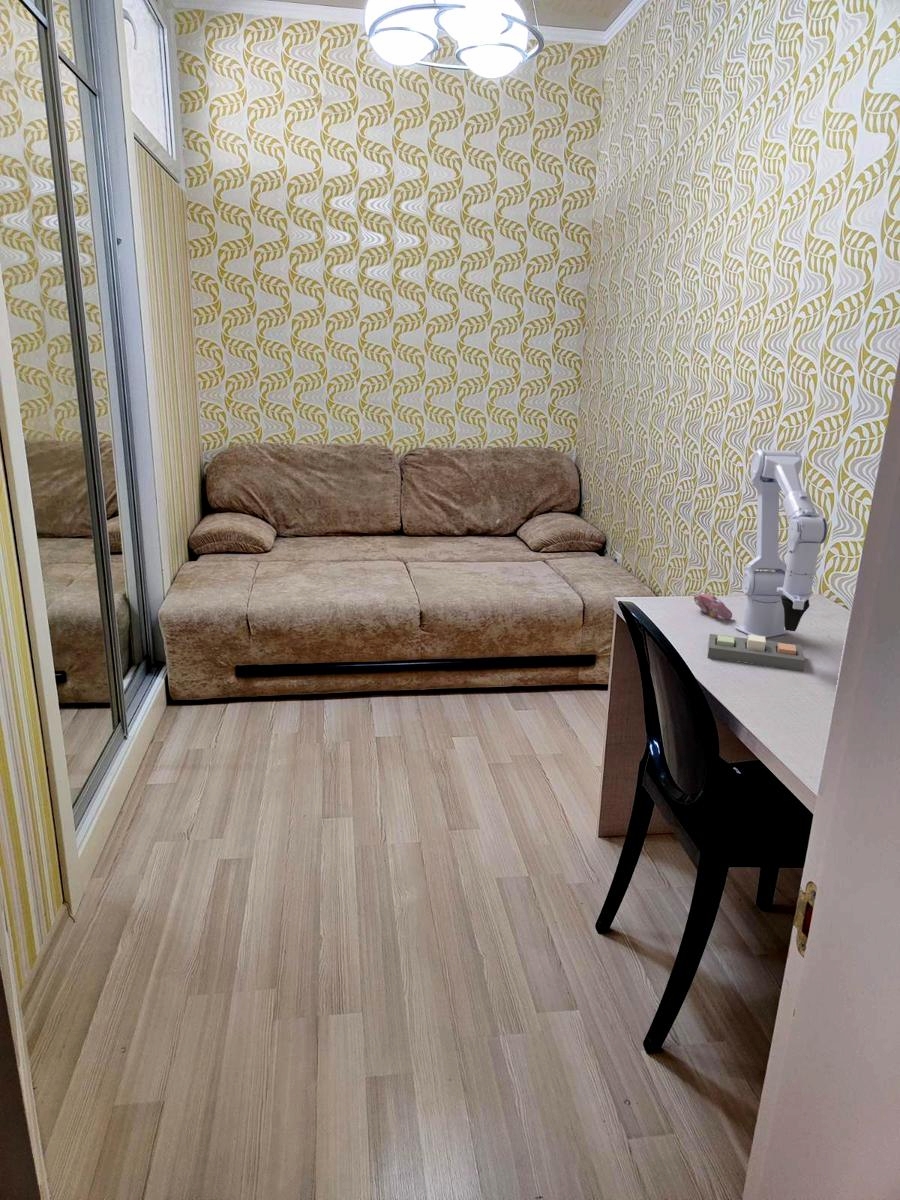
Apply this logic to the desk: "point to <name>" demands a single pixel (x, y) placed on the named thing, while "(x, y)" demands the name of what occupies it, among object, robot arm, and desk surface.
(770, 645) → the button panel
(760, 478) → the robot arm
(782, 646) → the terracotta button
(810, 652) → the desk surface
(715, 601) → the pinkish-red lumpy piece
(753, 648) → the cream button
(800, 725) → the desk surface
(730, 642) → the sage button
